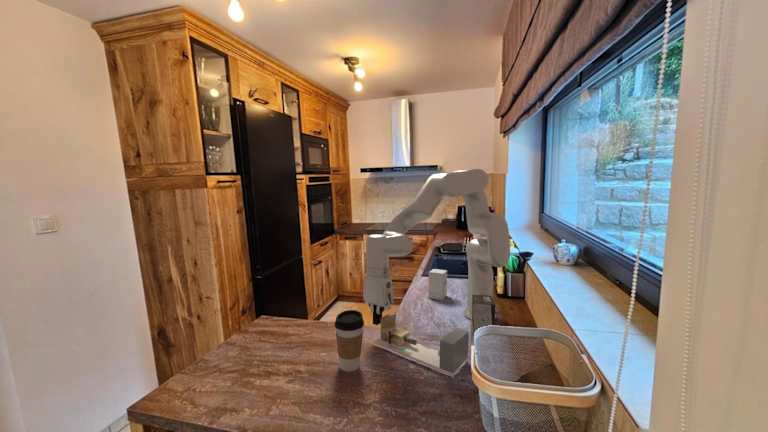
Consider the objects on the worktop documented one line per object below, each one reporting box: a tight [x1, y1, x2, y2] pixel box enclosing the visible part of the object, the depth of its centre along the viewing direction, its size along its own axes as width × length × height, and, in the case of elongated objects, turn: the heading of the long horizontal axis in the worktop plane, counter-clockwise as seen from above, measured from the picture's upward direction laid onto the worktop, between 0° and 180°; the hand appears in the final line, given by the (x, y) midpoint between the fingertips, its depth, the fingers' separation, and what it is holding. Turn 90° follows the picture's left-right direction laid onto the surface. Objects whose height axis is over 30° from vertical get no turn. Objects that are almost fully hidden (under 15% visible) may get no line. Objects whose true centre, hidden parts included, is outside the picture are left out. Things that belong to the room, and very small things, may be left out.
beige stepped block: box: [380, 312, 417, 346], centre depth 97 cm, size 12×8×7 cm, turn 51°
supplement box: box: [427, 268, 448, 301], centre depth 144 cm, size 7×7×13 cm
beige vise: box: [373, 327, 470, 376], centre depth 94 cm, size 28×10×10 cm, turn 51°
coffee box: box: [470, 295, 496, 343], centre depth 97 cm, size 9×6×16 cm
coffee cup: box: [334, 309, 365, 372], centre depth 87 cm, size 8×8×15 cm
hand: (377, 323), depth 104 cm, fingers closed
